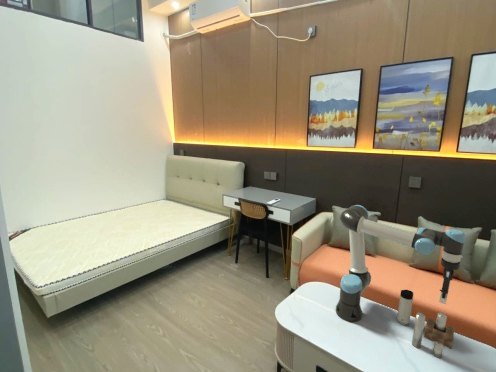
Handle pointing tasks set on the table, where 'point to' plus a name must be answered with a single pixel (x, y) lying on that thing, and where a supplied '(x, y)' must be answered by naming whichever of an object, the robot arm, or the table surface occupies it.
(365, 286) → the robot arm
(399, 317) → the travel mug
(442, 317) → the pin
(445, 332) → the hole block
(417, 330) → the pin long
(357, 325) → the table surface
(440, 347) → the pin short
